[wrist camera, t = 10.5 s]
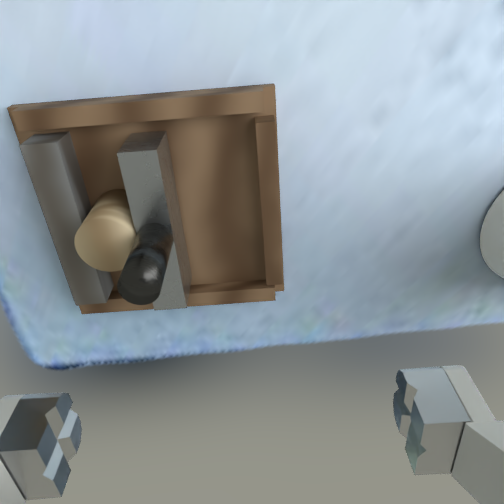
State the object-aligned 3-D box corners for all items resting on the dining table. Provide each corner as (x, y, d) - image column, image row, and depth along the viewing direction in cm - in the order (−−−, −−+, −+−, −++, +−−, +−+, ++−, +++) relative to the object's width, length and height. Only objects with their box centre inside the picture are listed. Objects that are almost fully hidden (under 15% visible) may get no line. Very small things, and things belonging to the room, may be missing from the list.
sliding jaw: (166, 130, 37) (138, 187, 27) (191, 276, 45) (177, 363, 35) (130, 133, 38) (89, 191, 27) (162, 279, 45) (139, 366, 35)
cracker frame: (274, 83, 37) (277, 94, 34) (283, 285, 48) (286, 308, 44) (12, 104, 37) (-11, 117, 34) (79, 299, 48) (67, 324, 45)
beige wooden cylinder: (143, 186, 40) (129, 217, 35) (153, 235, 43) (141, 269, 38) (88, 191, 40) (66, 221, 35) (102, 238, 43) (83, 273, 38)
